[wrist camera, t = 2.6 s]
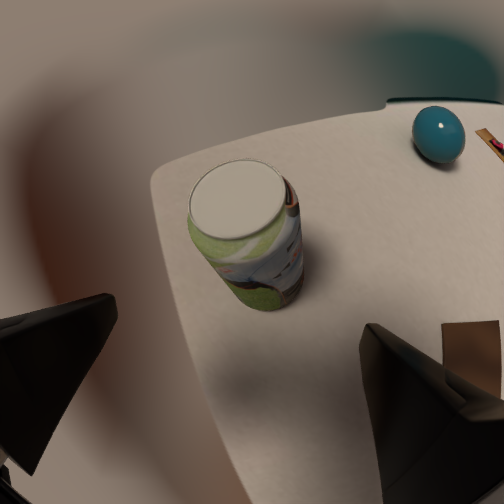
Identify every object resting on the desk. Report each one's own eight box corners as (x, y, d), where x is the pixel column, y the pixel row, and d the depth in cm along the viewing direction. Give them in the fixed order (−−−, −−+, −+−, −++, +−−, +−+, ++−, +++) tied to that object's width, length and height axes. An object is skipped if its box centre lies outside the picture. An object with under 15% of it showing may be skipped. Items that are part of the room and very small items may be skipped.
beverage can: (311, 301, 22) (352, 219, 12) (226, 327, 22) (189, 265, 11) (286, 238, 25) (299, 134, 15) (208, 261, 24) (171, 163, 14)
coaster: (498, 400, 16) (500, 400, 15) (439, 417, 16) (442, 417, 16) (496, 321, 20) (499, 320, 19) (441, 324, 20) (443, 323, 20)
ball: (427, 134, 33) (445, 95, 26) (459, 171, 30) (483, 132, 22) (394, 138, 32) (410, 93, 25) (429, 180, 29) (454, 134, 21)
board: (515, 176, 30) (519, 171, 29) (475, 131, 35) (478, 126, 34) (522, 170, 31) (525, 165, 30) (484, 128, 36) (487, 123, 35)
